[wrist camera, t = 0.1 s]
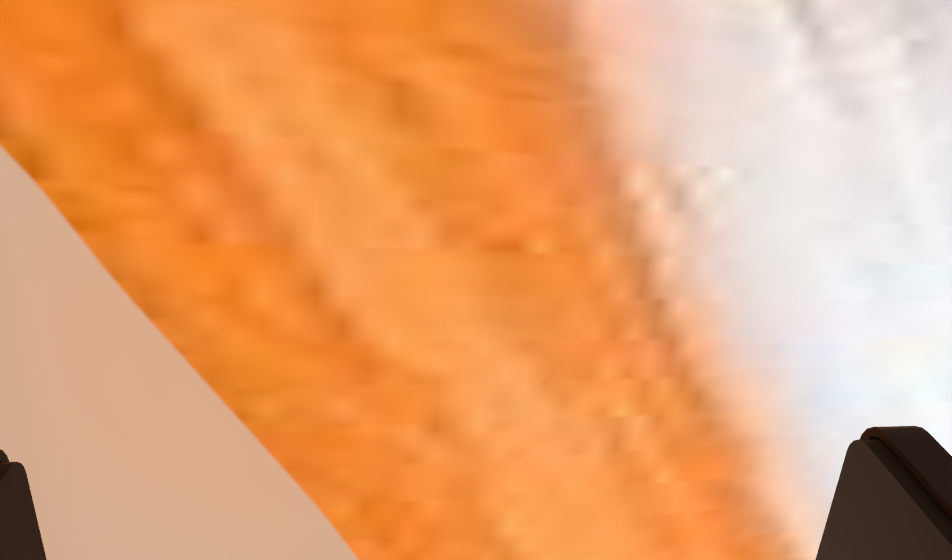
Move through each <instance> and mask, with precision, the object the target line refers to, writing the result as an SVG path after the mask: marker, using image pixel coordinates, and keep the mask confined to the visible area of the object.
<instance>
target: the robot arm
mask: <svg viewBox="0 0 952 560" xmlns="http://www.w3.org/2000/svg"><path fill="white" fill-rule="evenodd" d="M0 560H46V556H45V552H44V547H43V543H42V539H41V534H40V530H39V526H38V522H37V517H36V513H35V509H34V504H33V500H32V496H31V492H30V487H29V483H28V479H27V474H26V471H25V468H24V466H23V465H22V464H21V463H18V462H9V460H8V458H7V455H6V454H5V453H4V452H3V451H2V450H0ZM816 560H952V456H951V455H950V454H949V453H948V452H947V451H946V450H945V449H944V448H943V447H942V446H941V445H940V444H939V443H938V442H937V441H936V440H935V439H934V438H933V437H932V436H931V435H930V434H929V433H928V432H927V431H926V430H924V429H923V428H921V427H917V426H897V427H872V428H868V429H866V431H865V432H864V433H863V434H862V435H861V438H860V440H855V441H853V442H852V443H851V444H850V445H849V447H848V450H847V453H846V456H845V460H844V463H843V467H842V470H841V474H840V477H839V481H838V484H837V487H836V491H835V494H834V498H833V501H832V505H831V508H830V512H829V515H828V519H827V522H826V526H825V529H824V533H823V536H822V540H821V543H820V546H819V550H818V553H817V557H816Z"/></svg>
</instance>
